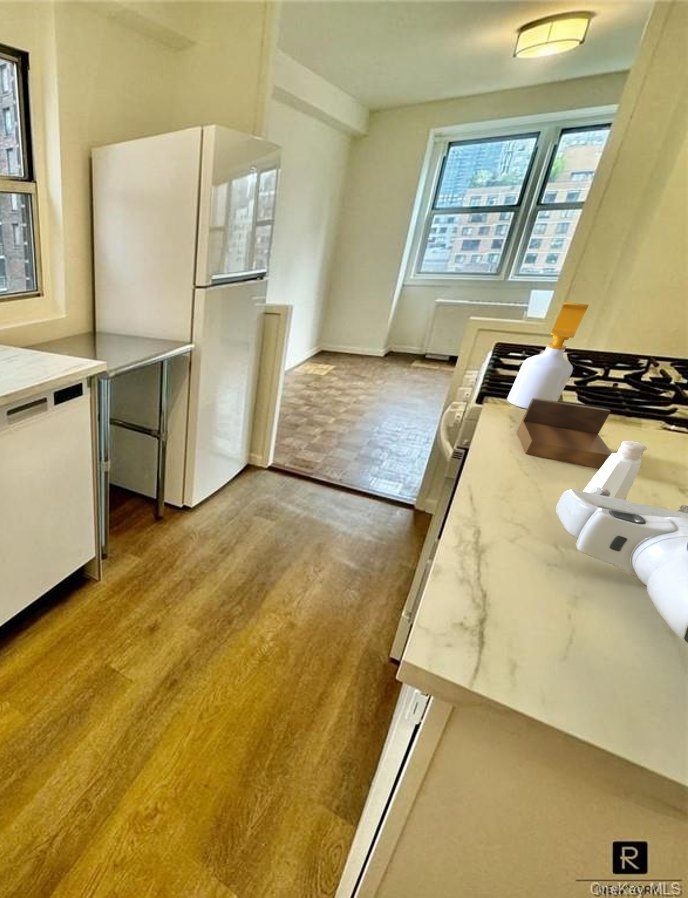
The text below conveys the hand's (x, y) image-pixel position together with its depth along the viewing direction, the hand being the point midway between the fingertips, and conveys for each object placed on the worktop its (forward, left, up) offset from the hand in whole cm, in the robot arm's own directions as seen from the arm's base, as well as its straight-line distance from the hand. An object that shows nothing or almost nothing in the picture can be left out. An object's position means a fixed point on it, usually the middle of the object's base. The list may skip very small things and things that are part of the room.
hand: (640, 500), depth 71 cm
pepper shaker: (0, -10, -6) cm, 12 cm away
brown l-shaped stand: (+2, -31, -6) cm, 32 cm away
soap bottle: (+3, -58, -6) cm, 58 cm away
